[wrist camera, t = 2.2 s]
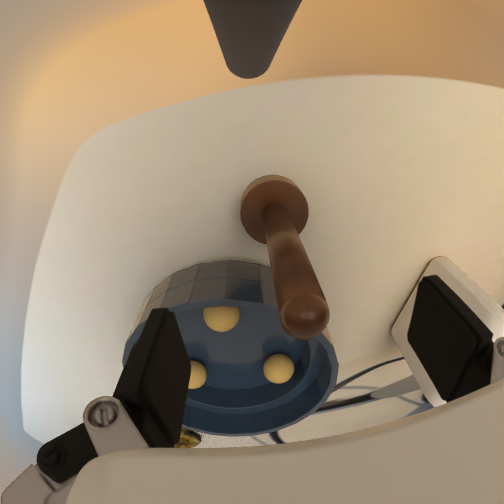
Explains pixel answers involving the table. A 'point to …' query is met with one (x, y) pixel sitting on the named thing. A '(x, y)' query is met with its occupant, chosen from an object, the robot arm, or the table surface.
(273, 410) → the bowl
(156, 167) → the table surface
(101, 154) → the table surface
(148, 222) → the table surface
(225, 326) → the dough ball
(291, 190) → the wooden dough tamper
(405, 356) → the photo printer
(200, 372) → the dough ball
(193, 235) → the table surface
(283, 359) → the dough ball
